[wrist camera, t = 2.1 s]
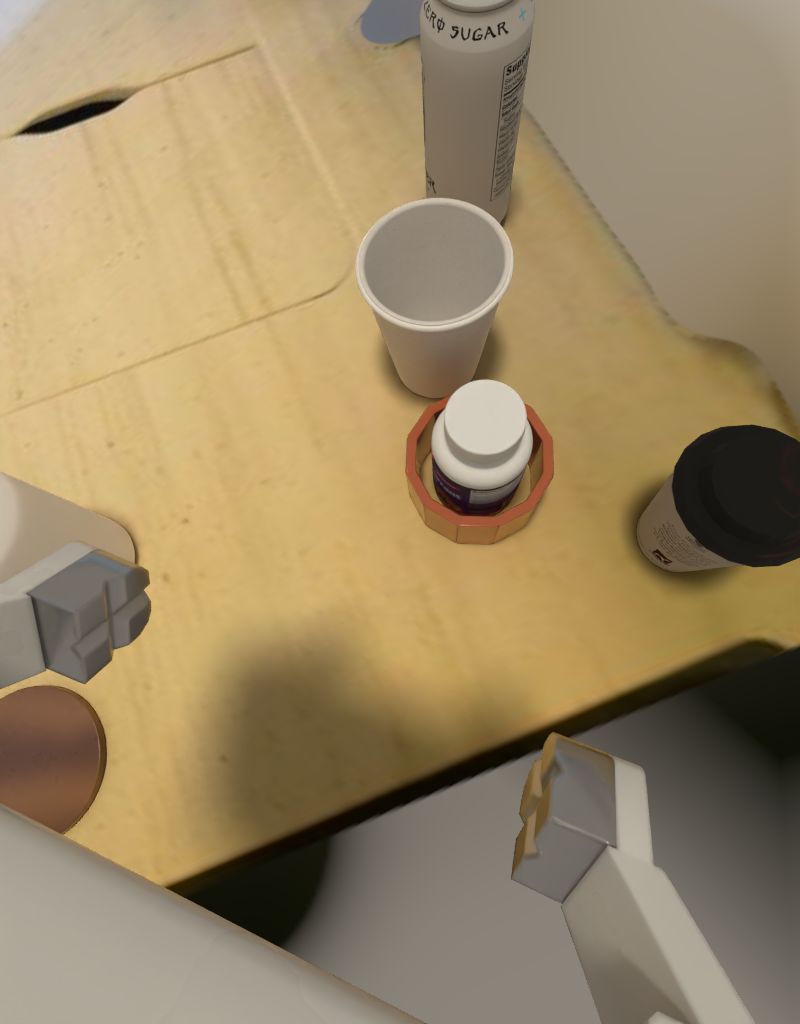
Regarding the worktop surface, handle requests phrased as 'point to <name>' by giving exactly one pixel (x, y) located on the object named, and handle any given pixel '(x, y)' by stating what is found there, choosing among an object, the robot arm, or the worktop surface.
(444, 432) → the pill bottle
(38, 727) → the coaster
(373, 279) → the dixie cup
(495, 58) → the energy drink can
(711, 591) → the worktop surface
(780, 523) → the coffee cup
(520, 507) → the holder cup
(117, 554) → the can
